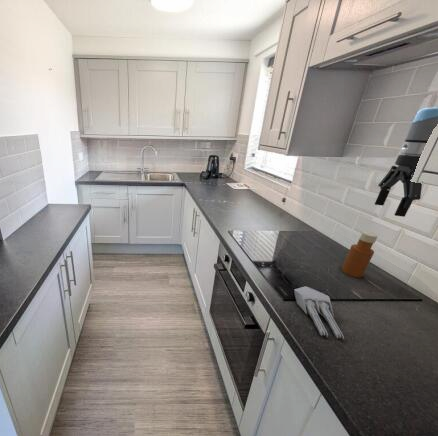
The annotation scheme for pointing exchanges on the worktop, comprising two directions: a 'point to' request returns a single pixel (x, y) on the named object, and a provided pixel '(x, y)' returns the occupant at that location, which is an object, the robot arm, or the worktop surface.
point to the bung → (368, 237)
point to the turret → (317, 309)
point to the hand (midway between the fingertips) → (388, 210)
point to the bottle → (358, 259)
